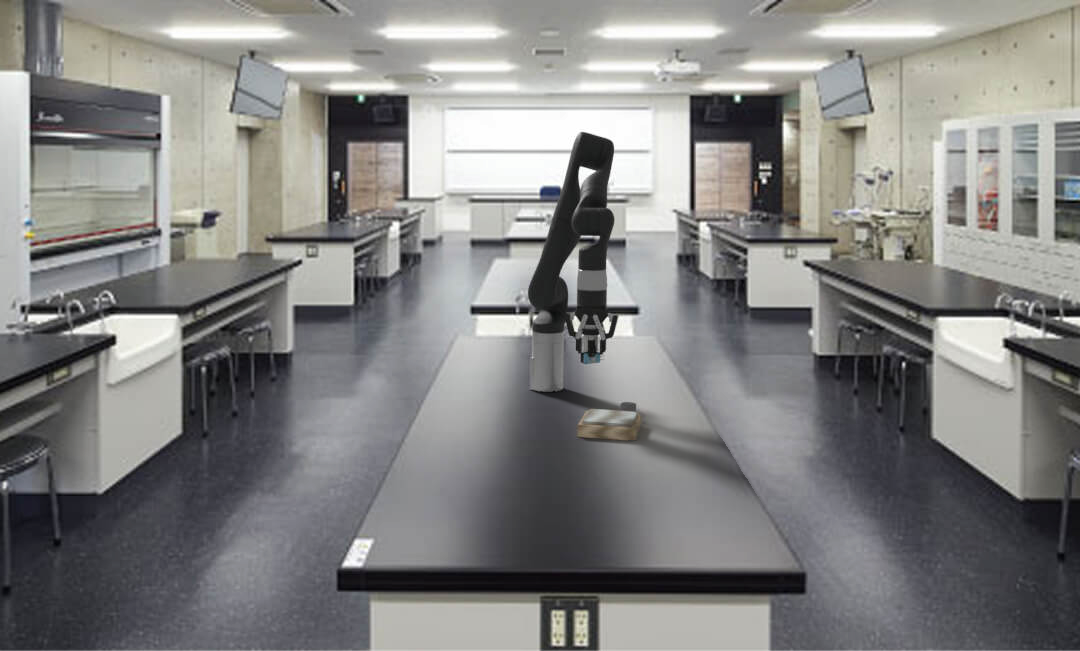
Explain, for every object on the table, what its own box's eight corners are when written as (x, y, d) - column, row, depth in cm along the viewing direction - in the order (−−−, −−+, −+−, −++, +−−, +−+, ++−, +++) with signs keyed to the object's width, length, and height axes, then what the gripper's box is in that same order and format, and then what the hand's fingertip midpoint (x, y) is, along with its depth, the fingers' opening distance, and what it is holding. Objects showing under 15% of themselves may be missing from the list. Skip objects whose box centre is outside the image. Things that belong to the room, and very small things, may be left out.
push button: (598, 359, 249) (599, 321, 247) (609, 363, 244) (610, 324, 243) (576, 361, 246) (576, 323, 244) (587, 365, 241) (587, 326, 240)
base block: (577, 436, 233) (577, 421, 232) (586, 421, 246) (586, 407, 246) (634, 440, 230) (635, 425, 229) (641, 425, 244) (641, 411, 243)
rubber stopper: (619, 420, 249) (619, 405, 248) (621, 416, 252) (621, 401, 252) (634, 421, 248) (635, 406, 247) (636, 417, 252) (637, 402, 251)
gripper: (561, 288, 240) (560, 355, 243) (618, 290, 237) (617, 357, 240) (566, 284, 247) (565, 349, 250) (622, 286, 244) (620, 352, 247)
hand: (590, 353), depth 245 cm, fingers closed on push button, 5 cm apart
